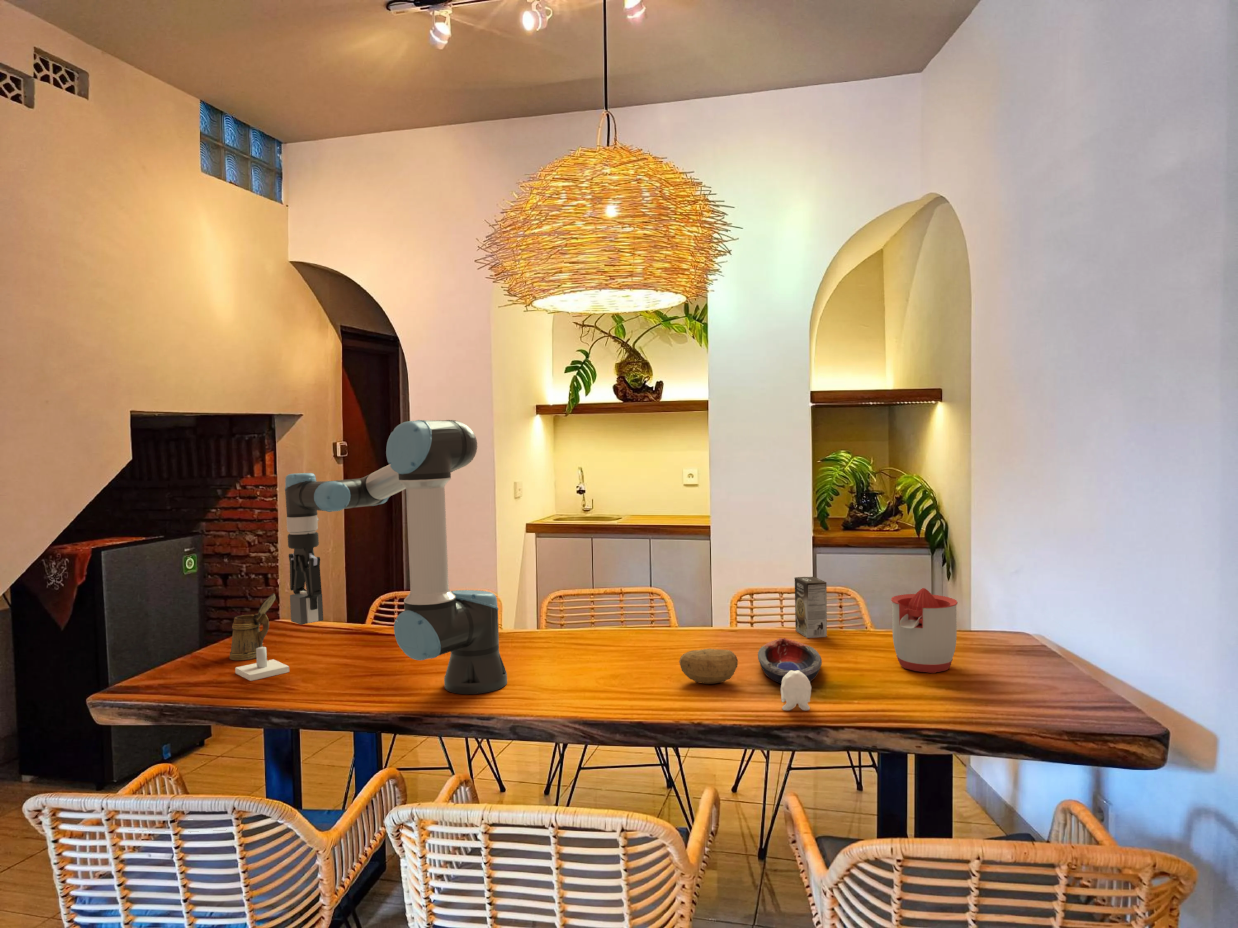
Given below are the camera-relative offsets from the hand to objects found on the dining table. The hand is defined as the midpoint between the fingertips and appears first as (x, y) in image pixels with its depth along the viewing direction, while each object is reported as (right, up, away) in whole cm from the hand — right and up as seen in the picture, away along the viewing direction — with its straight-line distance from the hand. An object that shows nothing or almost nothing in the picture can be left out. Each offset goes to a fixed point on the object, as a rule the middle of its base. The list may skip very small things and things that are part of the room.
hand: (307, 619), depth 217 cm
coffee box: (+138, -9, +25) cm, 141 cm away
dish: (+125, -11, -9) cm, 126 cm away
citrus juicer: (+158, -10, -10) cm, 159 cm away
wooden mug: (-21, -14, +16) cm, 30 cm away
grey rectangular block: (0, 0, 0) cm, 0 cm away
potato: (+103, -12, -18) cm, 106 cm away
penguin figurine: (+120, -12, -35) cm, 126 cm away
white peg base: (-12, -14, 0) cm, 18 cm away
